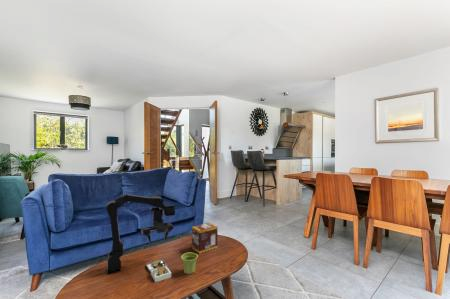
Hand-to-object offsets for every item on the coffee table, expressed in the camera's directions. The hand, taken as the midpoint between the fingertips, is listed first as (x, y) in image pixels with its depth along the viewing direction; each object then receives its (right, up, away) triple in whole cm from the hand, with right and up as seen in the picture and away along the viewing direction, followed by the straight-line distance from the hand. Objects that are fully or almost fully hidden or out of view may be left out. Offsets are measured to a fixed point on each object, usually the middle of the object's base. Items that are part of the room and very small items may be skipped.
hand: (157, 242), depth 136 cm
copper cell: (+7, -11, -16) cm, 20 cm away
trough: (+7, -12, -15) cm, 21 cm away
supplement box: (+28, -13, +20) cm, 36 cm away
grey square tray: (+2, -12, -6) cm, 14 cm away
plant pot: (+22, -12, -11) cm, 27 cm away
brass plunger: (+2, -11, -6) cm, 13 cm away
